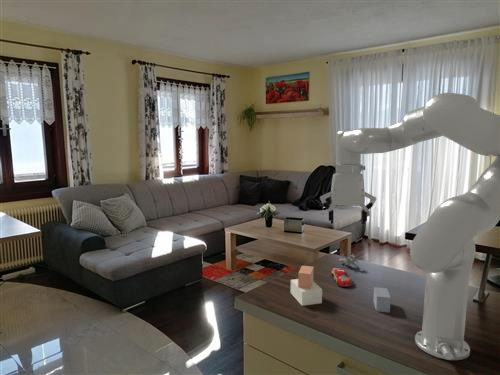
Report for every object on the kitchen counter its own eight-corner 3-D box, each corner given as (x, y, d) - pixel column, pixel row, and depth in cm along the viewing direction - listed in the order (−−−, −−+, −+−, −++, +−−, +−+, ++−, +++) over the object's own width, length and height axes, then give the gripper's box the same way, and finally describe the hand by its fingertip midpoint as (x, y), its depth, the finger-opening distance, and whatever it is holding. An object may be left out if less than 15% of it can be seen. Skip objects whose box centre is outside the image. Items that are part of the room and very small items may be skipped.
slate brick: (389, 312, 112) (390, 297, 112) (376, 311, 113) (377, 296, 113) (386, 302, 119) (387, 288, 119) (373, 301, 120) (374, 287, 119)
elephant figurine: (352, 262, 157) (365, 261, 149) (346, 274, 155) (359, 274, 147) (335, 248, 156) (347, 247, 147) (329, 260, 153) (341, 259, 145)
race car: (353, 289, 130) (354, 278, 130) (338, 289, 130) (339, 278, 130) (343, 274, 143) (344, 265, 143) (330, 274, 143) (330, 265, 143)
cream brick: (321, 303, 119) (322, 289, 118) (301, 306, 117) (302, 291, 116) (309, 291, 128) (309, 277, 128) (290, 293, 127) (290, 279, 126)
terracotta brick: (310, 288, 118) (310, 274, 118) (298, 287, 120) (298, 272, 119) (313, 280, 125) (313, 266, 124) (301, 279, 126) (301, 265, 126)
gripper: (374, 168, 117) (373, 221, 119) (319, 169, 120) (319, 220, 121) (378, 170, 109) (377, 226, 111) (320, 170, 112) (320, 225, 114)
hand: (347, 223), depth 116 cm, fingers open, 9 cm apart
